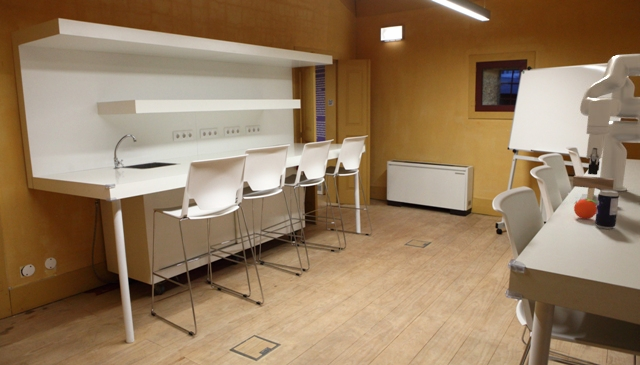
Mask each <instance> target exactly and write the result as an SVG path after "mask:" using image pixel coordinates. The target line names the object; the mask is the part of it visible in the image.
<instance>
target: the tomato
mask: <svg viewBox="0 0 640 365" xmlns="http://www.w3.org/2000/svg"><path fill="white" fill-rule="evenodd" d="M579 200H580V199H579ZM579 200H578V201H577V202H575V205H574V206H573V210H574V213H575V215H576V216H577V217H578V218H580V219H583V220H589V219H591V218H593V217H594V216H596V211H597V206H596V205H595V203H594V202H595V201H594V202H593V200H588V199H582V200H580V201H579ZM596 203H597V202H596Z"/></svg>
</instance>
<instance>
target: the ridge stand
mask: <svg viewBox="0 0 640 365" xmlns="http://www.w3.org/2000/svg"><path fill="white" fill-rule="evenodd" d="M595 189H596V188H587V193H582V194H581V196H580V199H579V200H578V201H580V200H582V199H588V200H593V202H594V201H595V202H594V203H595V205H596V207H597V203H596V202H598V194H595V191H596V190H595Z"/></svg>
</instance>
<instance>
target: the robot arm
mask: <svg viewBox="0 0 640 365" xmlns="http://www.w3.org/2000/svg"><path fill="white" fill-rule="evenodd" d="M629 77H640V53H631V54H630V53H629V54H617V55H615V56H612V57H611V58H609V60H608V61H607V64H606V68H605V71H604V73H603V76H602V79H600V80H598V81H597V82H594V83H593V84H592V85H590V87H589V88H587V89H586V91H585V92H584V95H583V97H582V100H581V102H580V108H579V109H580V110H579V111H580V113H581V114H582V115H583V116H586V117H587V126H586V134H587V135H589V136H588V140H587V148H586V149H587V150H586V156H585V157H586V159H589V163H588V168H587V174H588V175H593V176H595V175H598V173H599V171H600V175H599V177H600V178H613V179H614V184H613V191H617V192H621V191H622V192H623V191H626V190H627V189H628V187H627V186H625V185H624V183H625V182H624V180H625V172H626V164H627V157H628V156H627V155H628V151H627V149H626V147H625V146H624V145H623V143H633V144H634V143H636V144H637V143H638V144H640V96H635V89H636V87H635V84H634V83H633V81H632V80H631V79H630V78H629ZM609 94H611V97H603V96H605V95H609ZM611 117H612V118H615V119H616V118H617V119H636V120H637V121H636V120H634V121H632V120H631V121H629V120H611ZM600 159H601V162H600ZM600 163H601V166H600ZM602 190H608V189H602Z"/></svg>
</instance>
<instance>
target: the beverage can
mask: <svg viewBox="0 0 640 365" xmlns="http://www.w3.org/2000/svg"><path fill="white" fill-rule="evenodd" d="M597 195H598V202H597V206H596V207H597V211H596V214H595V222H594V224H595V225H596V226H597V227H598V228H600V229H604V230H610V229H611V230H612V229H613V228H615V227H616V224H617V216H618V207H619V206H618V205H619V198H620V196H619V191H613V190H603V189H599V192H598V194H597Z"/></svg>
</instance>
